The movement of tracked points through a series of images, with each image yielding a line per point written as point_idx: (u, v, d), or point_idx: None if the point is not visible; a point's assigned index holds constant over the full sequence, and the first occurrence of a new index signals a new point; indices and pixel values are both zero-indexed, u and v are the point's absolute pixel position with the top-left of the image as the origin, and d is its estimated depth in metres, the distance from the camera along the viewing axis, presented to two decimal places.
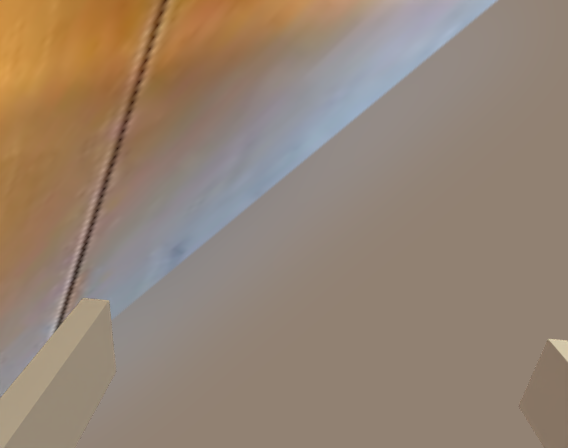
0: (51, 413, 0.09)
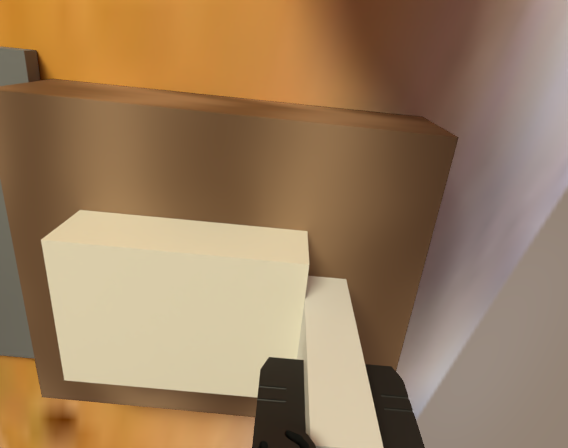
0: None
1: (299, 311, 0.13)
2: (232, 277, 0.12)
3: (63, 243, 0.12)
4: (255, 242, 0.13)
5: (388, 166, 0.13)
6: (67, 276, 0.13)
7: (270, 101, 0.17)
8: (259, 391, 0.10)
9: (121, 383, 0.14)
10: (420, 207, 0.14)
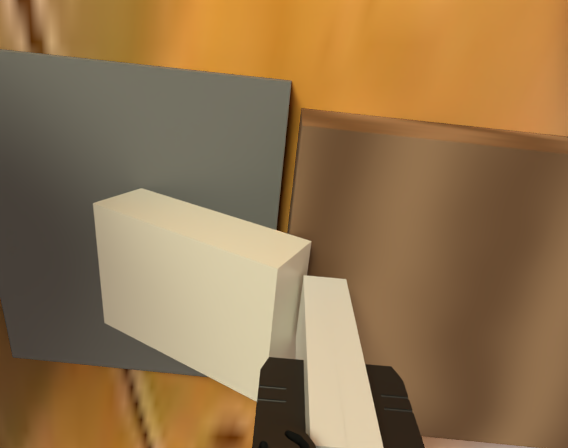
0: None
1: (269, 314, 0.13)
2: (215, 265, 0.13)
3: (105, 209, 0.15)
4: (249, 239, 0.14)
5: None
6: (107, 236, 0.16)
7: (516, 131, 0.17)
8: (259, 391, 0.10)
9: (139, 339, 0.17)
10: None
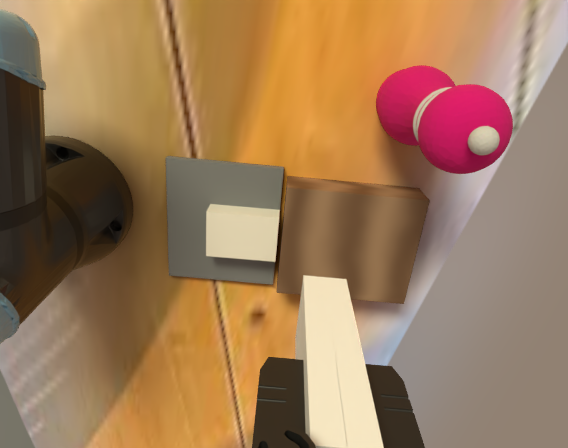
0: None
1: (276, 231, 0.46)
2: (258, 221, 0.45)
3: (212, 212, 0.45)
4: (264, 212, 0.46)
5: (408, 209, 0.43)
6: (212, 222, 0.45)
7: (364, 183, 0.46)
8: (259, 391, 0.10)
9: None
10: (418, 221, 0.44)
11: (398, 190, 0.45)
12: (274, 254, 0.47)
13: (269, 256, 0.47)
